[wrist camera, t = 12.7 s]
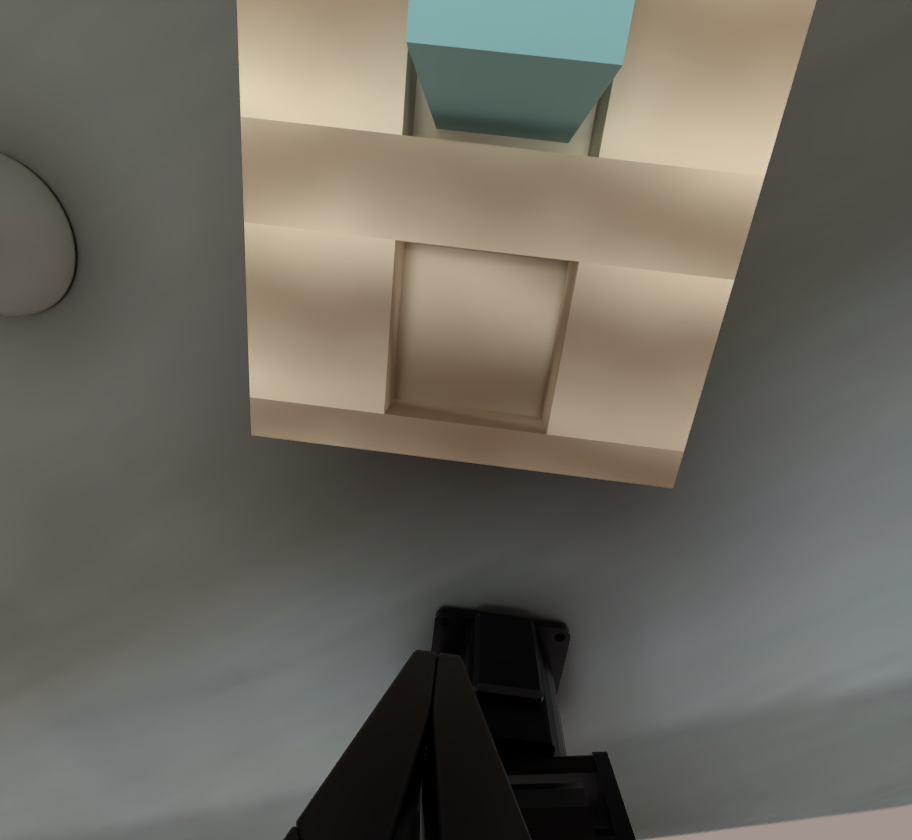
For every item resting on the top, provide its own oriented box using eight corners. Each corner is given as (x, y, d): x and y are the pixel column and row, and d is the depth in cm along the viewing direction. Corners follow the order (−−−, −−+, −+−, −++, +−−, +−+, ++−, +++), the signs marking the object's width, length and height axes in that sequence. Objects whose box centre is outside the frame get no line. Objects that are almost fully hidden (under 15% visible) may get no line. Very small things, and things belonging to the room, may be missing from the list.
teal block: (568, 143, 16) (622, 64, 10) (436, 128, 16) (405, 41, 10) (595, -23, 14) (680, -241, 8) (450, -38, 14) (424, -266, 8)
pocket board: (650, 461, 20) (673, 488, 17) (278, 414, 20) (251, 435, 18) (798, -87, 14) (863, -159, 12) (272, -141, 14) (229, -223, 12)
